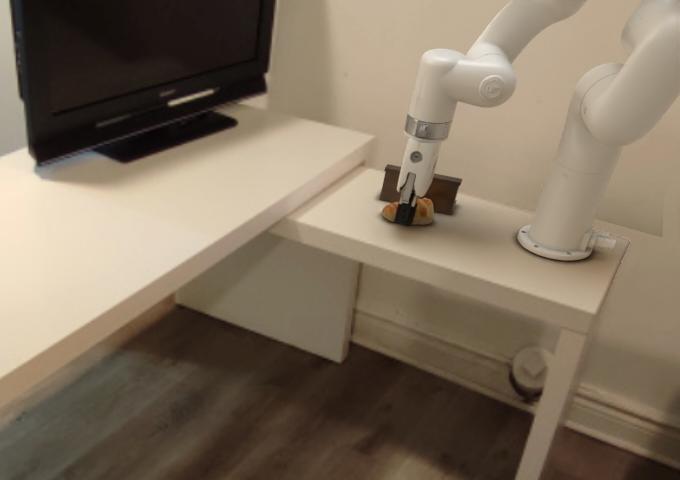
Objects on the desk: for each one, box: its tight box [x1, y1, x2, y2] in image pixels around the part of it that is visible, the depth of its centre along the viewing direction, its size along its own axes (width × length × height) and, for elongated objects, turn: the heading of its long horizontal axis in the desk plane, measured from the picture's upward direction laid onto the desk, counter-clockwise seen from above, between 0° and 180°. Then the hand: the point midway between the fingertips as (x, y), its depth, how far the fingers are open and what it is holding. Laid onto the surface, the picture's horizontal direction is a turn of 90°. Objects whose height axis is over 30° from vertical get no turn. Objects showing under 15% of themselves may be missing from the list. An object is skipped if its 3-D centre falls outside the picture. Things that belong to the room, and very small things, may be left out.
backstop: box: [379, 163, 463, 215], centre depth 156 cm, size 14×5×7 cm, turn 62°
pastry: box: [381, 198, 435, 226], centre depth 152 cm, size 9×7×4 cm
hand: (403, 222), depth 148 cm, fingers closed
